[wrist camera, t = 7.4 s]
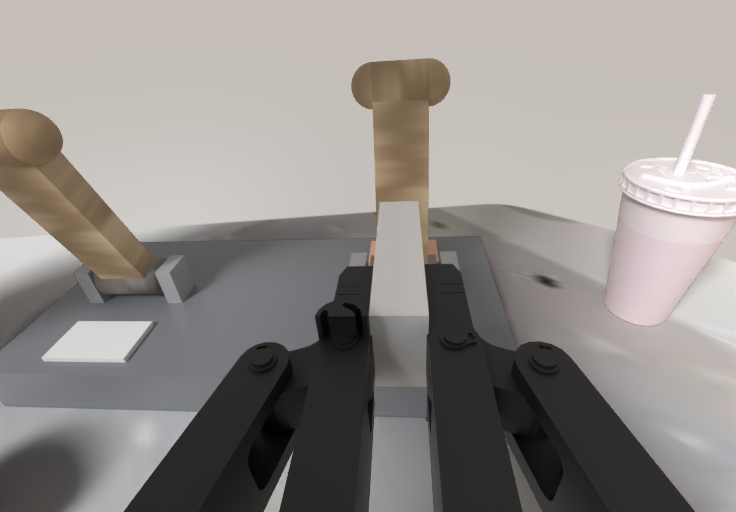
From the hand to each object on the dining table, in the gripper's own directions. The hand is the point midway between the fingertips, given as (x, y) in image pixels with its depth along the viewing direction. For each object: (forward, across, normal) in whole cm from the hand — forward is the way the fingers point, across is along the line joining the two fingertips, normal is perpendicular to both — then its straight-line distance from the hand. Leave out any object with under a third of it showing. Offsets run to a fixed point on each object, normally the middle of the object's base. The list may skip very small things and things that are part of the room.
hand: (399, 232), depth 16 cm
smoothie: (+8, +16, -11) cm, 21 cm away
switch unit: (+6, -9, -11) cm, 16 cm away
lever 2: (+6, 0, -8) cm, 10 cm away
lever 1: (+7, -18, -8) cm, 21 cm away
